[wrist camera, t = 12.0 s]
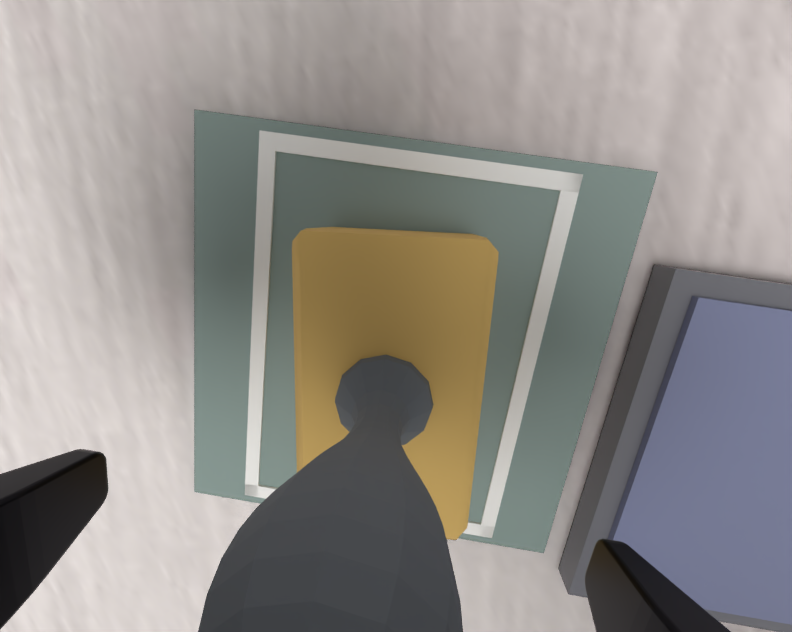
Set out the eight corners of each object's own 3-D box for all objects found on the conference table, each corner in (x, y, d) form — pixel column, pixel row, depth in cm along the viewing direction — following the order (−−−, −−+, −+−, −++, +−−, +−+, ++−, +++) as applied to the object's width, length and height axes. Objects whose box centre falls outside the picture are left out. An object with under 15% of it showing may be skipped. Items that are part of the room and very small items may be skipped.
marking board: (652, 172, 13) (659, 171, 12) (541, 547, 17) (544, 555, 16) (199, 111, 13) (192, 108, 13) (198, 487, 17) (193, 493, 17)
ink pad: (1002, 314, 13) (1075, 326, 12) (829, 616, 17) (868, 654, 15) (654, 264, 14) (682, 269, 12) (558, 568, 17) (570, 601, 16)
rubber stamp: (323, 226, 14) (-221, 253, 2) (482, 234, 13) (845, 320, 2) (323, 461, 16) (70, 1060, 5) (457, 473, 16) (545, 1153, 4)
